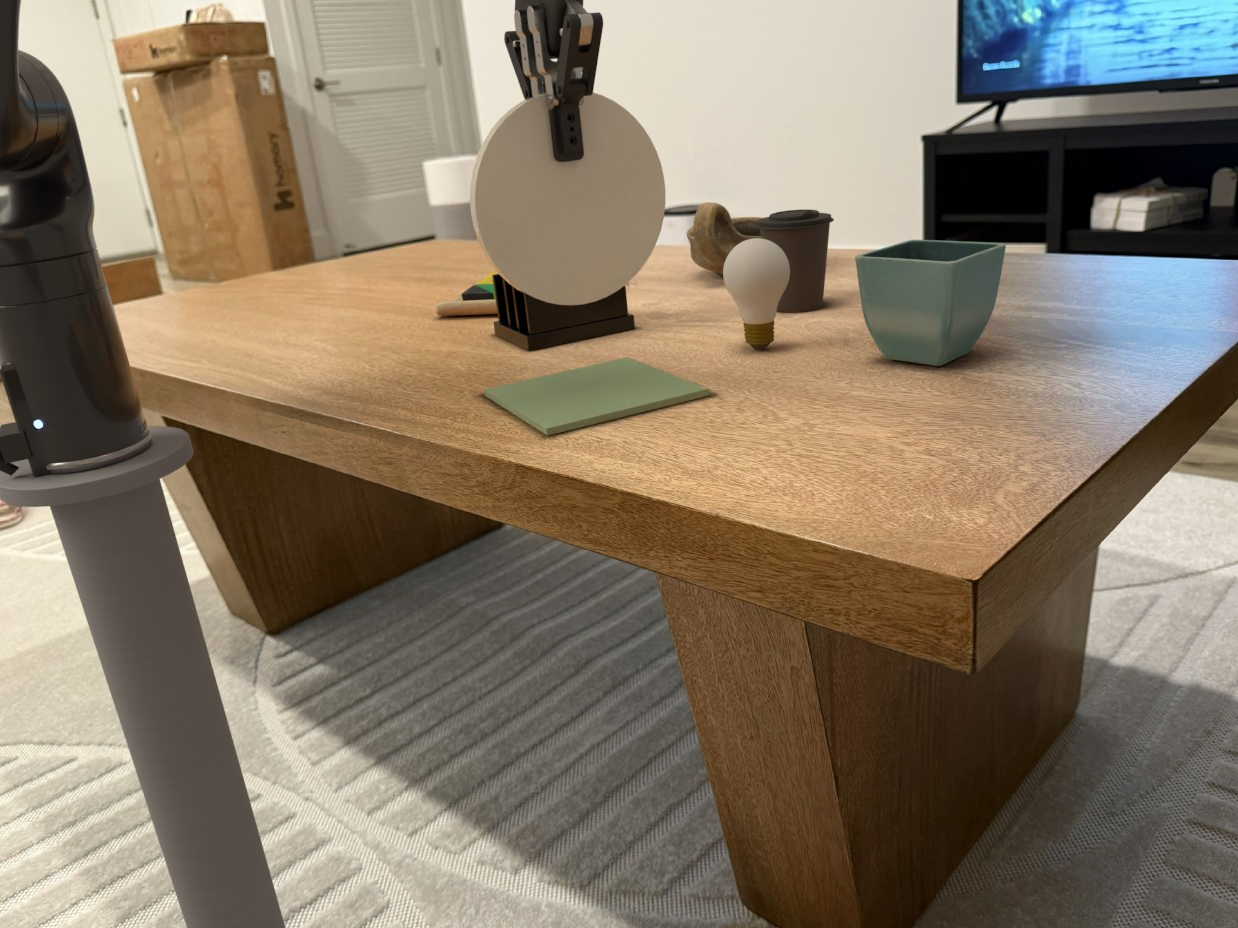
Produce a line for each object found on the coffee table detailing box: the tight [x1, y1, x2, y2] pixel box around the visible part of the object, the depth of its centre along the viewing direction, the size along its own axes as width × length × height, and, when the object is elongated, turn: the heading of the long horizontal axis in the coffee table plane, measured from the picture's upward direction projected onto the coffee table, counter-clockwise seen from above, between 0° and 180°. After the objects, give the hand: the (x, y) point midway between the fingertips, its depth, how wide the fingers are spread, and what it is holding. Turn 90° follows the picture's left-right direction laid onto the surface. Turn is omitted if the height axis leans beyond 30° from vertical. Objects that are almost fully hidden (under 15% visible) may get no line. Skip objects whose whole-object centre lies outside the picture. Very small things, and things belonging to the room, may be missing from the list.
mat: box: [483, 356, 710, 437], centre depth 81 cm, size 14×14×1 cm
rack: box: [492, 274, 636, 352], centre depth 104 cm, size 12×10×6 cm
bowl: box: [685, 201, 766, 275], centre depth 124 cm, size 14×18×10 cm
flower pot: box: [854, 239, 1007, 367], centre depth 81 cm, size 9×9×9 cm
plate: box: [469, 92, 666, 305], centre depth 76 cm, size 16×1×16 cm, turn 117°
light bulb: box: [722, 238, 790, 351], centre depth 88 cm, size 6×6×10 cm
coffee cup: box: [755, 209, 835, 313], centre depth 104 cm, size 8×8×10 cm
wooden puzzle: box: [435, 269, 498, 317], centre depth 123 cm, size 18×19×4 cm
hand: (564, 160), depth 75 cm, fingers closed on plate, 1 cm apart
